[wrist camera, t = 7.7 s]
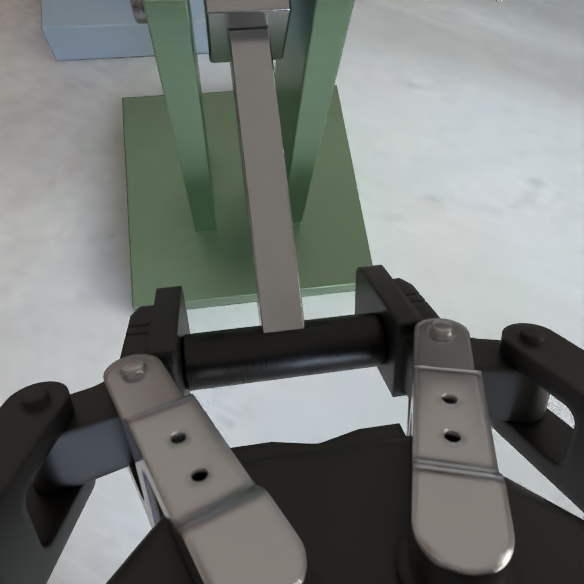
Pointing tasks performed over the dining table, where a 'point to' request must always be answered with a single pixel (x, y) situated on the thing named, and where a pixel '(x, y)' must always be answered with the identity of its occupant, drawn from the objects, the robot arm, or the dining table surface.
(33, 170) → the dining table surface
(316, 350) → the lever
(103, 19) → the grey piece
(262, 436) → the dining table surface
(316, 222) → the switch bracket
